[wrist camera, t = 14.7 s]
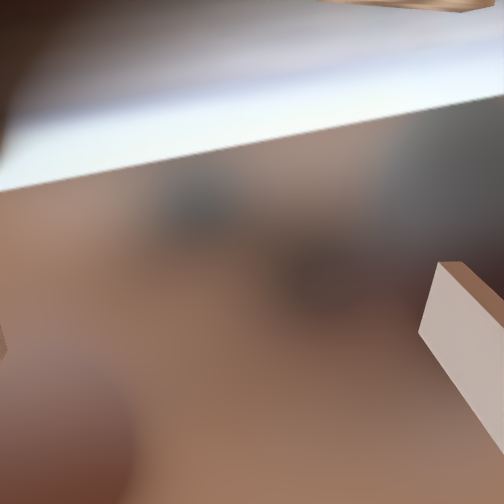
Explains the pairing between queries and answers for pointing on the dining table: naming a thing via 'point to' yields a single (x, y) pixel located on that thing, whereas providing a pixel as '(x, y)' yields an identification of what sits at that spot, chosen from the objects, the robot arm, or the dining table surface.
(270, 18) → the dining table surface
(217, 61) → the dining table surface
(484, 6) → the board
